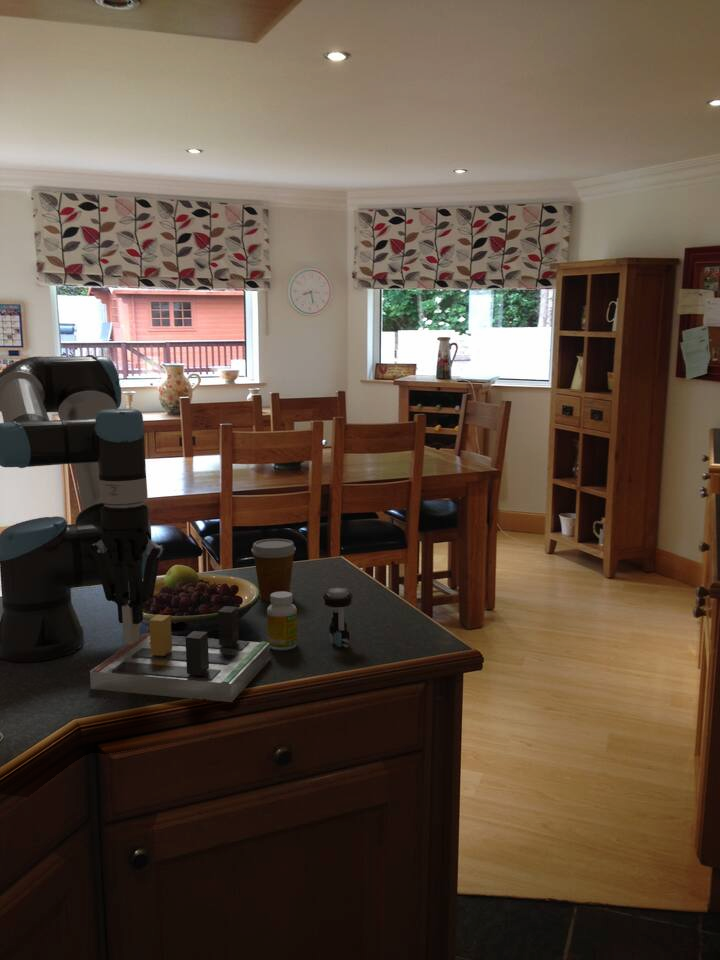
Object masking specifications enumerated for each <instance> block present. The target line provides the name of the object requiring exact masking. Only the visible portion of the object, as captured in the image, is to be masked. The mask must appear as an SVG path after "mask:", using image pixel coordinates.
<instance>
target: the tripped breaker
mask: <svg viewBox="0 0 720 960" xmlns="http://www.w3.org/2000/svg"><path fill="white" fill-rule="evenodd" d="M148 620H149V622H148V623H149V633H150V646H151V655H161V656H165V655H166V654H167V653H168V652H170V651H171V650H172V636H173V635H172V623H171V615H162V614H156V615H154V616H153V617H152V618H150V619H148Z"/></svg>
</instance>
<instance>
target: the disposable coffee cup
mask: <svg viewBox="0 0 720 960" xmlns="http://www.w3.org/2000/svg"><path fill="white" fill-rule="evenodd" d="M250 550H251V553H252V555H253V559H254V566H255V572H256V578H257V584H258V586H257V587H258V591H259V590H260V592H259V595H260V594H261V598H260V599H261V600H263V601H265V600H266V601H267V602H271V601H270V595H271V594H272V593H274V592H281V591H285V592H290V593H291V583H292V582H291V581H292V571H293V565H294V564H293V562H294V555H295V551H296V550H297V549H296V546H295V544H294V542H293V540H290V539H284V538H266V539H261V540H257V541H255V542H253V544H252V548H251V549H250Z"/></svg>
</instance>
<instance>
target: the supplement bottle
mask: <svg viewBox="0 0 720 960" xmlns="http://www.w3.org/2000/svg"><path fill="white" fill-rule="evenodd" d="M269 602H270V604H269V606H267V609H266V621H267V622H266V625H267V631H266V632H267V643H270V650H271V649H272V650H273V651H289V650H292V649H295V648H296V647H297V645H298V609H297V607H296V604H293V602H294V601H293V593H292V592H291V591H290V592H285V591H281V592H274V593H272V594H271V595H270V601H269Z"/></svg>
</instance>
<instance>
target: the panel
mask: <svg viewBox="0 0 720 960" xmlns="http://www.w3.org/2000/svg"><path fill="white" fill-rule="evenodd" d="M238 611H239V609H238V606H231V605H230V606H229V605H227V606H226V605H224V606H223V607H222V608H220V609H219V610H218V611H217V622H218V626H217V627H218V639H217V638H209V635H208V633H209V631H208V632H207V631H199V630H198V631H197V630H193V631H192V632H190V633H189V634H188V635H187V636H182V635H181V636H178V635H172V650H171V651H170V652H168V653H167V654H166V655H165V656H161V655H151V646H150V632H144V633H141V635H140V639H139V640H138V641H137V642H135V643H134V644H132V645H131V644H125V646H123V647H122V648H121V649H119V650H118V651H117V652H115V653H114V654H112V655H111V656H109V657H108V658H107V659H105V660H104V661H102V662H101V663H99V664H98V665H96V666H95V667H94V668H92V669H91V670H90V671H89V679H90V680H89V682H90V690H98V691H106V692H107V691H109V692H119V693H129V694H140V695H151V696H162V697H172V698H180V699H181V698H184V699H192V698H201V699H200V700H203V699H206V700H205V701H216V702H227V703H229V702H230V703H233V701H235V700H236V698H237V697H238V696H239V695H240V694H241V693H242V691H243V690H244V689H245V688H246V687H247V686H248V685H249V683H251V682H252V681H253V679H254V678H255V677H256V675H258V674H259V672H260V671H261V670H262V669H263V668H264V667H265V665H267V664H268V663H269V661H270V660H271V652H270V651H271V648H270V643H268V641H263V640H262V641H261V642H259V641H247V640H246V641H245V640H239V639H240V637H239V612H238ZM242 689H243V690H242ZM239 693H240V694H239Z"/></svg>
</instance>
